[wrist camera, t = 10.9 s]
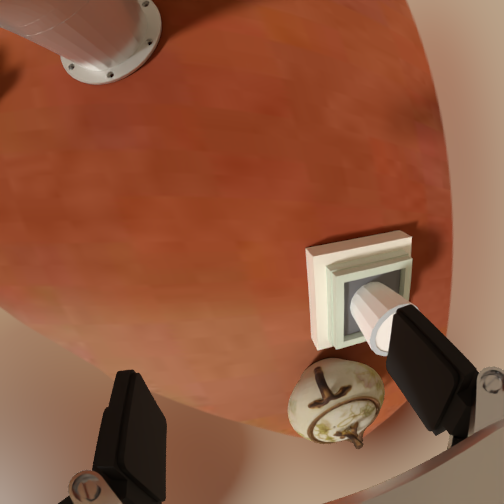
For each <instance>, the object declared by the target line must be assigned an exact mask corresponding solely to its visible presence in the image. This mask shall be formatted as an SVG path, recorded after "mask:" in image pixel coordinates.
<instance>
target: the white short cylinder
mask: <svg viewBox="0 0 504 504" xmlns="http://www.w3.org/2000/svg"><path fill="white" fill-rule="evenodd" d="M409 304H412V303H411V302H409V301H408V300H406V299H405V298H403V297H402V296H401V295H399V294H398V293H396V292H395V291H393V290H392V289H390V288H389V287H387V286H386V285H384V284H382V283H380V282H369V283H367V284H365V285H363V286H362V287H361V288H360V289H359V290H357V291H356V293H355V294H354V296H353V298H352V300H351V305H350V310H351V314H352V316H353V318H354V319H355V321H356V323H357V325H358V326H359V328H360V330H361V332H362V333H363V335H364V337H365V339H366V341H367V342H368V344H369V346H370V348H371V349H372V350H373V351H374V352H375V354H377V355H381V356H387V355H388V349H389V342H390V335H391V328H392V320H393V315H394V314H395V313H396V310H397V309H398V308H401V307H404V306H406V305H409ZM412 305H413V306H415V305H414V304H412ZM415 307H416V308H417V306H415ZM417 309H418V308H417Z"/></svg>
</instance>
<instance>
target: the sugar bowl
mask: <svg viewBox="0 0 504 504" xmlns="http://www.w3.org/2000/svg"><path fill="white" fill-rule="evenodd" d="M384 395H385V390H384V384H383V381H382V379H381V377H380V376H379V375H378V373H377V372H376V371H375V370H374V369H373V368H371V367H369V366H368V365H366V364H363V363H359V362H355V361H349V360H343V359H340V358H327V359H323V360H320V361H318V362H316V363H314V364H312V365H311V366H310V367H308V368H307V369H306V370H305V371H304V372H303V374H302V376H301V378H300V380H299V381H298V383H297V385H296V386H295V388H294V390H293V392H292V394H291V396H290V400H289V404H288V417H289V421H290V423H291V425H292V427H293V428H294V429H295V431H296V432H297V433H298V434H299V435H301V436H302V437H304V438H306V439H308V440H311V441H314V442H316V443H320V444H330V443H335V442H340V441H350V442H352V443H354V446H355V447H356V449H360V448H361V447H362V446H363V443H362V441H363V439H362V437H363V433H364V431H365V429H366V428H367V427H368V426H369V425H370V424H372V422H373V421H374V420H375V419H376V417H377V416H378V414H379V411H380V409H381V406H382V404H383V401H384Z"/></svg>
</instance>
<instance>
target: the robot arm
mask: <svg viewBox="0 0 504 504" xmlns="http://www.w3.org/2000/svg"><path fill="white" fill-rule="evenodd" d="M147 5H148V6H147ZM145 6H147V7H145ZM0 27H1V28H4V29H6V30H8V31H10V32H13V33H15V34H18V35H20V36H22V37H24V38H26V39H28V40H30V41H32V42H34V43H36V44H38V45H41V46H43V47H45V48H47V49H49V50H51V51H53V52H55V53H56V54H58V55H60V57H61V61H62V64H63V67H64V68H65V70H66V71H67V72H68V74H69V75H71V76H72V77H73V78H75V79H77V80H79V81H81V82H84V83H87V84H93V85H101V84H108V83H112V82H116V81H118V80H120V79H123V78H125V77H127V76H128V75H130V74H132V73H133V72H135V71H136V70H137V69H138V68H140V67H141V66H142V65H143V64H144V63H145V62H146V61H147V60H148V59H149V57H150V56H151V55H152V53H153V52H154V50H155V49H156V46H157V44H158V42H159V40H160V36H161V31H162V20H161V16H160V13H159V11H158V8H157V7H156V5H155V4H154V2H153V1H152V0H0ZM149 43H152V44H151V45H149ZM73 67H74V69H73ZM112 74H114V76H113V77H112V78H111V75H112ZM386 368H387V371H388V373H389V374H390V375H391V377H392V378H393V380H394V381H395V383H396V384H397V386H398V387H399V388H400V390H401V391H402V393H403V394H404V396H405V397H406V399H407V400H408V402H409V403H410V404H411V406H412V407H413V409H414V410H415V412H416V413H417V415H418V416H419V418H420V419H421V421H422V422H423V424H424V425H425V427H426V428H427V429H428V430H429V431H433V433H434V434H435V435H436V436H437V435H438V434H440V433H442V432H444V431H445V430H447V431H448V433H449V434H450V436H449V442H448V447H447V450H446V451H444V452H442V453H441V454H439V455H437V456H435V457H434V458H432V459H430V460H428V461H426V462H424V463H422V464H420V465H418V466H416V467H414V468H412V469H410V470H408V471H406V472H404V473H402V474H400V475H398V476H396V477H393V478H391V479H389V480H387V481H384V482H382V483H380V484H377V485H375V486H372V487H370V488H367V489H365V490H362V491H359V492H357V493H354V494H351V495H348V496H346V497H343V498H340V499H337V500H334V501H330V502H327V503H324V504H504V370H502V369H500V368H497V367H487V368H484V369H483V370H482V371H480V373H479V372H478V371H477V370H476V368H475V367H474V366H473V364H472V363H471V362H470V361H469V360H468V359H467V358H466V357H465V356H464V355H463V354H462V353H461V352H460V351H459V350H458V349H457V348H456V347H455V346H454V345H453V344H452V343H451V342H450V341H449V340H448V339H447V338H446V337H445V336H444V335H443V334H442V333H441V332H440V331H439V330H438V329H437V328H436V327H435V326H434V325H433V324H432V323H431V322H430V321H429V320H428V319H427V318H426V317H425V316H424V315H423V314H422V313H421V312H420V311H419V310H418V309H417V308H416V307H415V306H413V305H412V304H409V305H406V306H404V307H401V308H398V309H397V310H396V313H395V314H394V315H393V320H392V328H391V335H390V342H389V349H388V355H387V361H386ZM166 433H167V424H166V419H165V417H164V415H163V413H162V412H161V410H160V408H159V407H158V405H157V404H156V401H155V400H154V398H153V396H152V395H151V393H150V391H149V389H148V387H147V386H146V384H145V382H144V380H143V378H142V376H141V375H140V374H139V373H135V371H134V370H125V371H118V372H117V374H116V378H115V382H114V386H113V390H112V394H111V398H110V402H109V407H107V408H106V409H105V411H104V413H103V418H102V422H101V427H100V431H99V436H98V441H97V446H96V451H95V456H94V462H93V468H92V471H91V470H84V471H80V472H78V473H77V474H75V475H74V476H73V477H72V479H71V480H70V482H69V485H68V493H69V496H68V497H67V498H65V499H64V500H63V501H61V502H60V503H58V504H162V502H163V501H165V499H166Z"/></svg>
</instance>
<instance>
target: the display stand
mask: <svg viewBox="0 0 504 504" xmlns="http://www.w3.org/2000/svg"><path fill="white" fill-rule="evenodd" d="M411 244H412V237H411V236H410V235H408V234H406V233H404V232H402V231H400V230H398V231H393V232H387V233H382V234H377V235H372V236H366V237H361V238H356V239H351V240H345V241H340V242H335V243H329V244H324V245H319V246H313V247H308V248H305V249H306V261H307V274H308V288H309V303H310V321H311V338H312V340H313V342H314V344H315V346H316V348H317V350H321V349H325V348H329V347H333V346H334V347H335V349H336V350H337V349H341V348H344V347H348V346H351V345H355V344H358V343H362V342H365V341H366V339H365V337H364V335H363V333H362V332H361V330H360V328H359V326H358V325H357V323H356V321H355V319H354V318H353V316H352V314H351V310H350V305H351V300H352V298H353V296H354V294H355V293H356V291H357V290H359V289H360V288H361V287H362V286H363V285H365V284H367V283H369V282H380V283H382V284H384V285H386V286H387V287H389V288H390V289H392V290H393V291H395V292H396V293H398V294H399V295H401V296H402V297H403V298H405V299H406V300H408V301H409V294H410V284H411V273H412V260H413V259H412V258H411Z"/></svg>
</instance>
